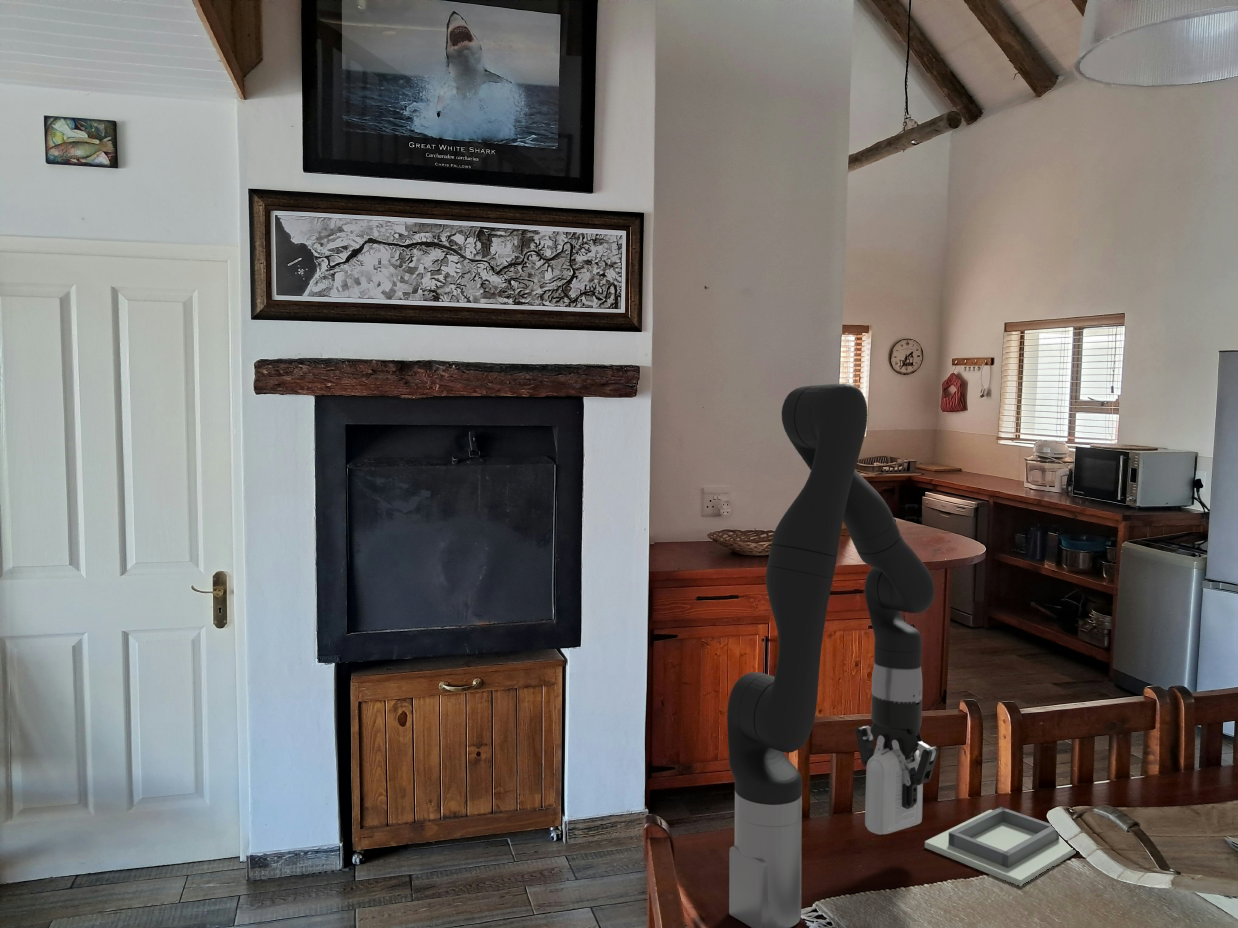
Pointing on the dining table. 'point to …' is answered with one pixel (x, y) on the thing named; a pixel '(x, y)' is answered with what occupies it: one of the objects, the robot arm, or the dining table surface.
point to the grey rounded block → (888, 795)
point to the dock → (1003, 845)
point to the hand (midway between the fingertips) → (894, 801)
